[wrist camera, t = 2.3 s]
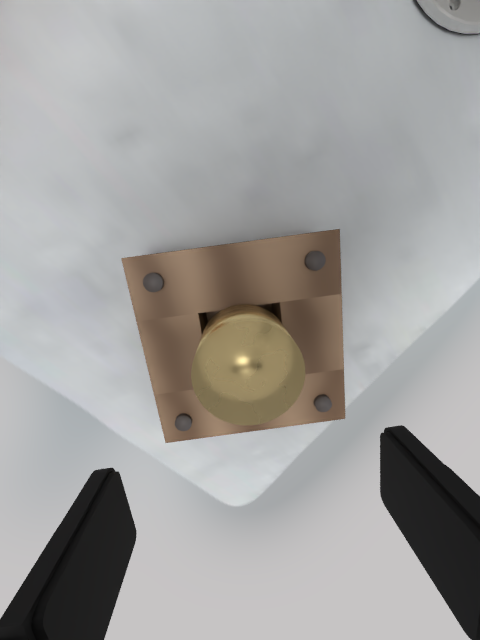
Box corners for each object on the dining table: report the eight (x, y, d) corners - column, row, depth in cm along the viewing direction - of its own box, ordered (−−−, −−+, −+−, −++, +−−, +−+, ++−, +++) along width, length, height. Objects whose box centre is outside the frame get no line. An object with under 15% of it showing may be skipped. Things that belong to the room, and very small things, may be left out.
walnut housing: (314, 234, 25) (342, 228, 19) (322, 385, 29) (347, 422, 23) (146, 256, 25) (118, 258, 19) (178, 404, 29) (164, 447, 23)
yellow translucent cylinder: (273, 288, 25) (301, 313, 15) (279, 356, 27) (308, 417, 17) (200, 298, 25) (181, 329, 15) (212, 365, 27) (201, 432, 17)
